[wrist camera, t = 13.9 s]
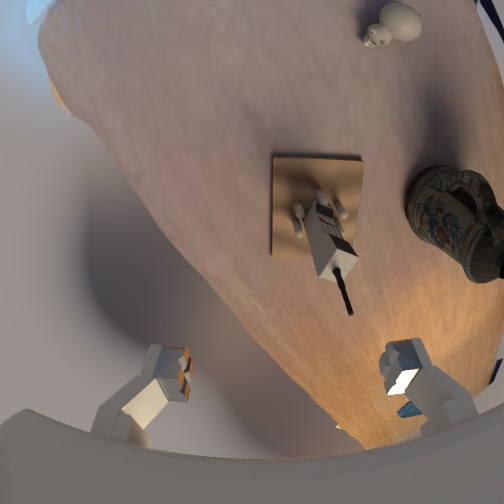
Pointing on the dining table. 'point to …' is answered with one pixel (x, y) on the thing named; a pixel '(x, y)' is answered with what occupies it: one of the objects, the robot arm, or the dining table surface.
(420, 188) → the beer stein
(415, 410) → the decorative plate
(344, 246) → the vintage mobile phone
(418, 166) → the dining table surface
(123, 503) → the robot arm
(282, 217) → the pin dock
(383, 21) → the round bodied animal figurine
